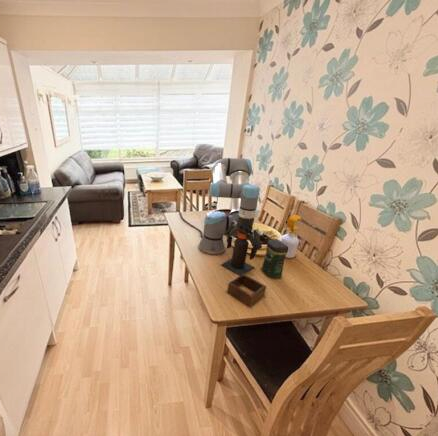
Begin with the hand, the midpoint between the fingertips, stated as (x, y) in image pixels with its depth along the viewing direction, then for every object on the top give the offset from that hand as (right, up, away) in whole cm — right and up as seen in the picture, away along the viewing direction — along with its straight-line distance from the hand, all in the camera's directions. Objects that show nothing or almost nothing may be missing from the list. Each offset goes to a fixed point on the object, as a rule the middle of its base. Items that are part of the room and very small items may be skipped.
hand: (239, 253), depth 126 cm
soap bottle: (+33, -3, +15) cm, 37 cm away
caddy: (-4, -17, -16) cm, 24 cm away
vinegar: (0, -7, +3) cm, 8 cm away
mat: (0, -8, +3) cm, 9 cm away
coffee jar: (+16, -10, -2) cm, 19 cm away
